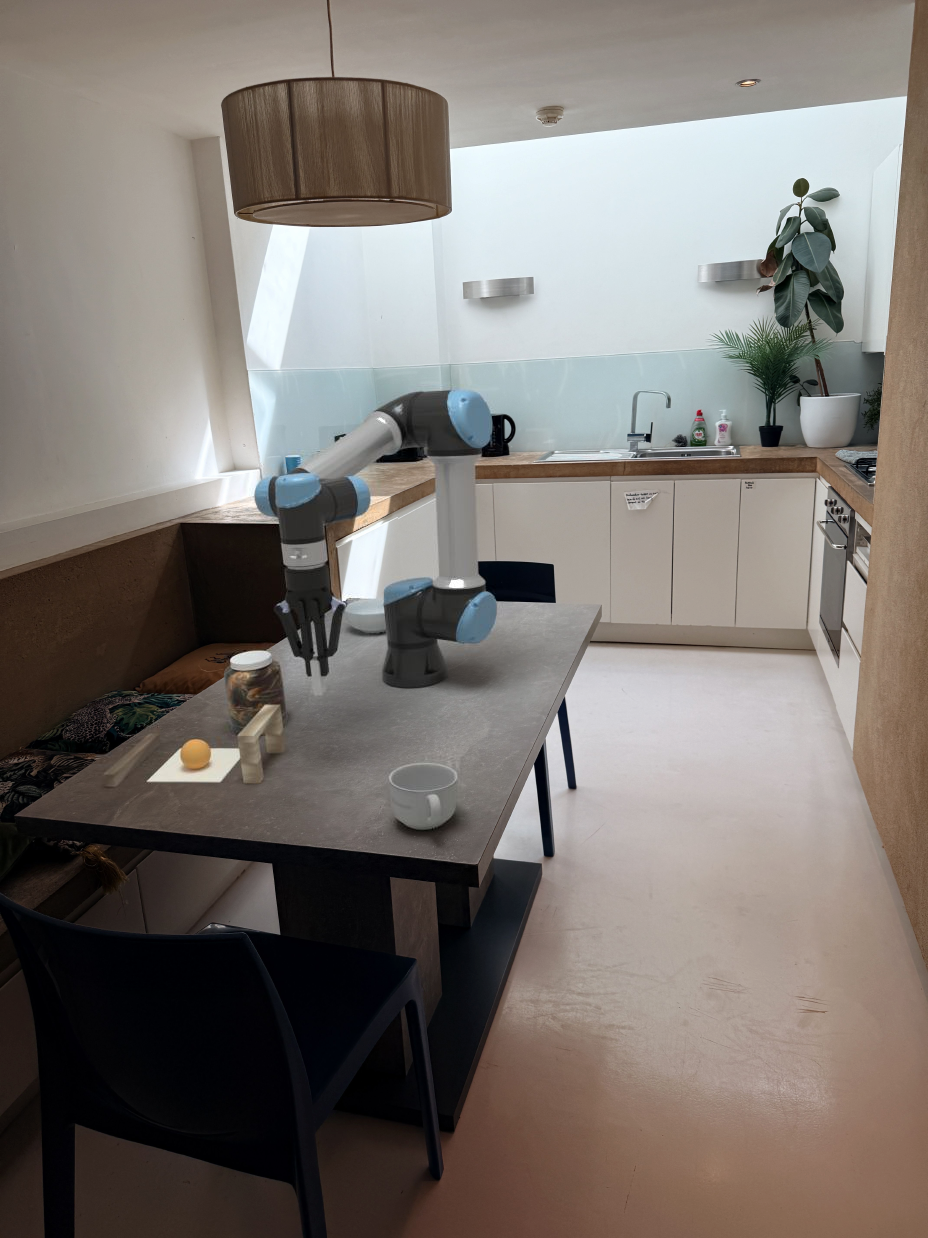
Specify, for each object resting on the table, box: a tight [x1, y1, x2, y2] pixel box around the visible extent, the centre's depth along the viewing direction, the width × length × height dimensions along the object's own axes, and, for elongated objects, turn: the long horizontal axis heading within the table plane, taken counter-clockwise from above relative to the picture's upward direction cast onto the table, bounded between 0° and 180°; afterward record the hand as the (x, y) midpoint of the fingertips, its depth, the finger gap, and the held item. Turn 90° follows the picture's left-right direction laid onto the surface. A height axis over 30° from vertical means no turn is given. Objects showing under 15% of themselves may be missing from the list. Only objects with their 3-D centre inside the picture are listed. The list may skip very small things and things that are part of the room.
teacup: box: [388, 762, 459, 831], centre depth 137 cm, size 14×11×8 cm
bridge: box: [236, 705, 286, 784], centre depth 161 cm, size 3×14×9 cm, turn 173°
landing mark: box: [146, 747, 241, 784], centre depth 164 cm, size 14×14×1 cm
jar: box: [223, 650, 288, 736], centre depth 179 cm, size 12×12×15 cm
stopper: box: [102, 733, 162, 788], centre depth 165 cm, size 2×18×2 cm, turn 173°
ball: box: [180, 738, 211, 769], centre depth 162 cm, size 6×6×6 cm
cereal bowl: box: [344, 598, 386, 634], centre depth 243 cm, size 17×17×7 cm
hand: (320, 692), depth 157 cm, fingers closed
